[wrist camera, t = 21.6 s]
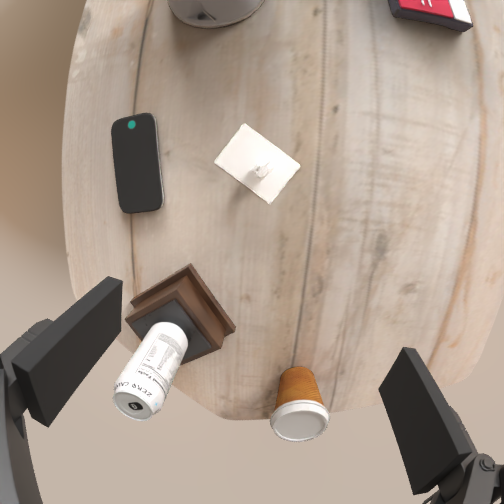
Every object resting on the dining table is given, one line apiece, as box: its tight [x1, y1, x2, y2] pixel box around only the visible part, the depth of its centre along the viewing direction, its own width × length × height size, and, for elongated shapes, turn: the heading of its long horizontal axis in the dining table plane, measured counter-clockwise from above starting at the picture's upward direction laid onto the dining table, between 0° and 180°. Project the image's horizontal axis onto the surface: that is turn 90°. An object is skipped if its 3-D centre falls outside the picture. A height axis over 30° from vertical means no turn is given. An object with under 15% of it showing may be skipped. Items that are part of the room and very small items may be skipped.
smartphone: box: [111, 113, 164, 213], centre depth 41 cm, size 8×1×15 cm
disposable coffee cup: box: [270, 367, 330, 442], centre depth 46 cm, size 10×10×12 cm
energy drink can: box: [113, 322, 188, 421], centre depth 35 cm, size 6×6×15 cm
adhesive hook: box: [249, 160, 275, 182], centre depth 39 cm, size 3×3×3 cm
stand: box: [125, 263, 236, 365], centre depth 45 cm, size 13×13×7 cm
